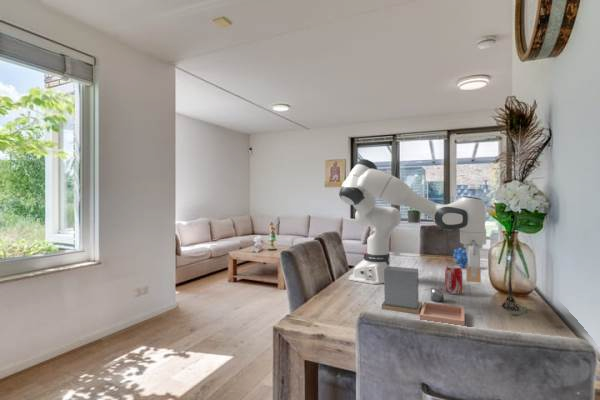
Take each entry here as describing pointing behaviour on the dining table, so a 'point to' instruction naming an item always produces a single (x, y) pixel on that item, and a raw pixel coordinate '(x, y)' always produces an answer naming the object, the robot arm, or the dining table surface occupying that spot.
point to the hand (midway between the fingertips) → (473, 274)
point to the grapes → (461, 257)
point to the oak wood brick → (473, 279)
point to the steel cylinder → (437, 294)
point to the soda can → (453, 279)
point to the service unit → (401, 290)
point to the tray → (442, 313)
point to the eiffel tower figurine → (513, 303)
